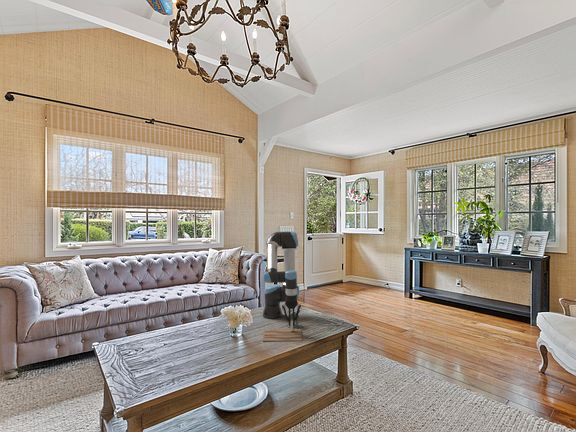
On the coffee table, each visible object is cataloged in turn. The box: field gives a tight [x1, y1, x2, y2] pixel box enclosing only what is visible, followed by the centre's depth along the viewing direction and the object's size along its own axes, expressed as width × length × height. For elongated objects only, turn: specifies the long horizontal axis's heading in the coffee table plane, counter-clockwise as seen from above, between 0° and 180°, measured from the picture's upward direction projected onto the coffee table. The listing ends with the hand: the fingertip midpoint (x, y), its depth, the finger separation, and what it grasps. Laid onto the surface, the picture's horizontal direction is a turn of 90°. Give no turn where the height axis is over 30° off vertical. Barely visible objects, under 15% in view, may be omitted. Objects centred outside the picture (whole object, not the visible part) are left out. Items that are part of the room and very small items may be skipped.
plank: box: [263, 328, 302, 337], centre depth 203 cm, size 9×24×1 cm, turn 91°
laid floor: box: [262, 334, 303, 343], centre depth 194 cm, size 9×24×1 cm, turn 91°
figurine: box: [286, 309, 303, 329], centre depth 216 cm, size 11×11×12 cm
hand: (291, 330), depth 204 cm, fingers closed
